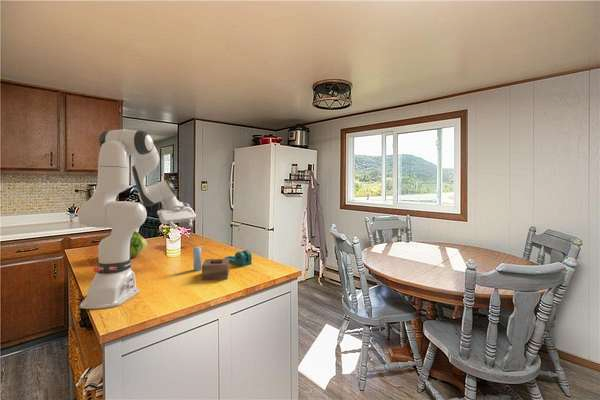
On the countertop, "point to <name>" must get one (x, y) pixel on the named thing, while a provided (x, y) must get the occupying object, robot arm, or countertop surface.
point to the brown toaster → (215, 269)
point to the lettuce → (136, 244)
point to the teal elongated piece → (241, 258)
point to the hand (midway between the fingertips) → (183, 227)
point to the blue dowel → (197, 258)
